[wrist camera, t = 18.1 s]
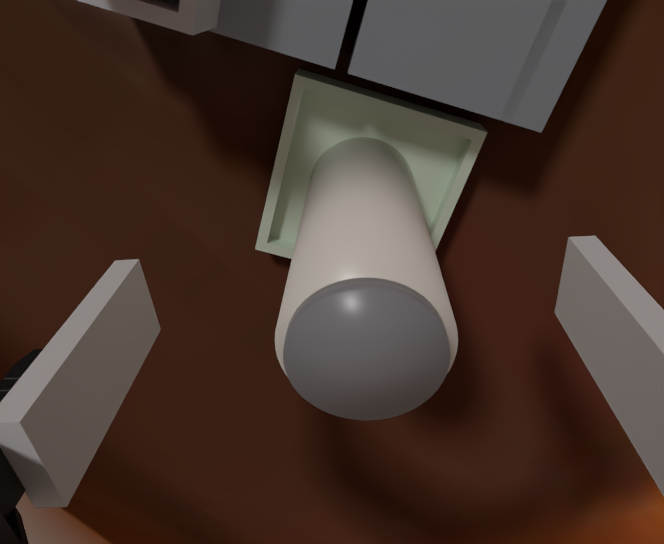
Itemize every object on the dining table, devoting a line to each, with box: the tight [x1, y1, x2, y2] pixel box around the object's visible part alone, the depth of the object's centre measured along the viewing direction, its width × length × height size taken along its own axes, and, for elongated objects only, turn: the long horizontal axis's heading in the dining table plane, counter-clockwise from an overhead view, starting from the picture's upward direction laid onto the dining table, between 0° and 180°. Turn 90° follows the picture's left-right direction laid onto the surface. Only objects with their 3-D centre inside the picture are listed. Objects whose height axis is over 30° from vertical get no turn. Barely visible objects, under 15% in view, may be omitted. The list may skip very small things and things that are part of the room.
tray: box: [255, 68, 488, 259], centre depth 24 cm, size 9×9×2 cm
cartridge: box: [275, 137, 458, 420], centre depth 19 cm, size 5×5×13 cm
